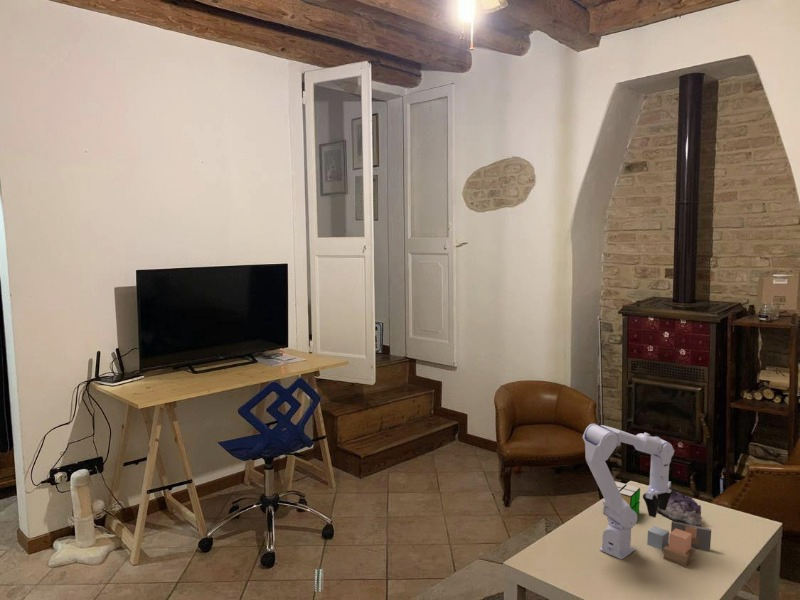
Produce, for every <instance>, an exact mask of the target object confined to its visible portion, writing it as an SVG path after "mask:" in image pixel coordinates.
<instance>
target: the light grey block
mask: <svg viewBox="0 0 800 600" xmlns="http://www.w3.org/2000/svg"><path fill="white" fill-rule="evenodd" d="M669 535H670V531H669V530H666V529H664V528H661V527H658V526H656V525H654V526H652V527H651V528H650V529H648V530H647V542H646V545H647V546H650V547H653V548H655V549H657V550H660V551H664V547H666V546H667V545H668V544H669Z"/></svg>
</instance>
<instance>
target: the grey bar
mask: <svg viewBox="0 0 800 600" xmlns="http://www.w3.org/2000/svg"><path fill="white" fill-rule="evenodd" d="M670 526H671V528H670V533H671V532H672V531H673V530H674V529H675V528H677V529H680V530H682V531H685V532H688V533H691V534H692V537H691V547H692V548H695V549H700V550H705V551H707V552H708V551H711V539H712V529H711V528H707V527H702V526H700V527H698V526H693V525H688V524H686V523H684V522H682V523H681V522H680V521H675V520H672V521H671V525H670Z"/></svg>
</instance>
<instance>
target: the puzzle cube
mask: <svg viewBox="0 0 800 600" xmlns="http://www.w3.org/2000/svg"><path fill="white" fill-rule="evenodd" d="M614 481H615V483H616V485H617V487H618V490H619V492H620V494H621V496H622V498H623V499H624V500H625V501H626V502H627V503H628V504H629V506H630V507H631V509H632V510H633V511H635V512H636V514H637V515H638V514H639V513H640V502H641V501H640V499H641V488H640V487H637V486H635V485H631V484H626V483H623V482H619V481H616V480H614ZM603 515H605V513H604V512H603Z"/></svg>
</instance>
